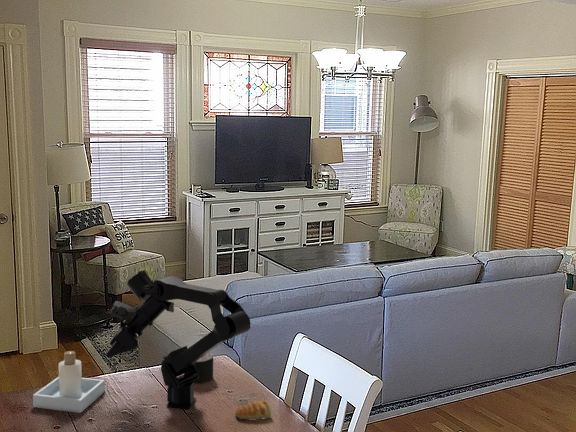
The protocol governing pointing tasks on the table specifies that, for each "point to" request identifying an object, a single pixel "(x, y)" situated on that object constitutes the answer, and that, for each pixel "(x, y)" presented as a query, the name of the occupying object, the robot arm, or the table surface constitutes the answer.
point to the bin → (51, 399)
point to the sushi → (204, 368)
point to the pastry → (254, 410)
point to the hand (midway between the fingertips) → (108, 350)
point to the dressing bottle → (70, 376)
